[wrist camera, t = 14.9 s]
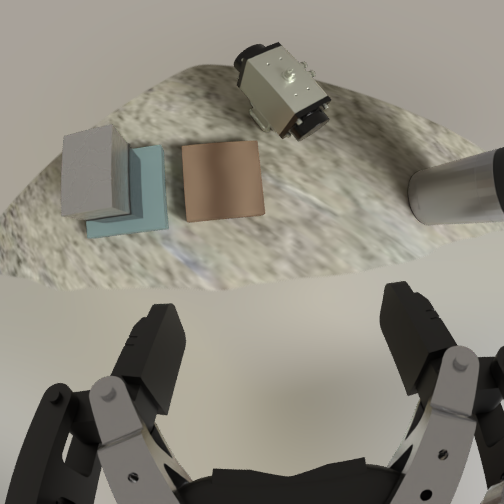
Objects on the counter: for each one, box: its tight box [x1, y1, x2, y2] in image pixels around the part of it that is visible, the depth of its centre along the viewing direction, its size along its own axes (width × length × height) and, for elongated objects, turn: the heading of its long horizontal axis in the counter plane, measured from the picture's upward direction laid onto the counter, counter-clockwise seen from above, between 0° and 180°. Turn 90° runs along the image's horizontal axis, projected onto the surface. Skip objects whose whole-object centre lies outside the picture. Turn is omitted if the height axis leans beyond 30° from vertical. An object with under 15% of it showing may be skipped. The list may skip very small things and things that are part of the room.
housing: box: [61, 124, 143, 223], centre depth 24 cm, size 5×7×11 cm
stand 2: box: [182, 141, 265, 223], centre depth 32 cm, size 9×9×2 cm
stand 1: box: [86, 145, 169, 238], centre depth 31 cm, size 10×10×2 cm
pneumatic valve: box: [234, 42, 331, 141], centre depth 28 cm, size 6×12×12 cm, turn 37°
